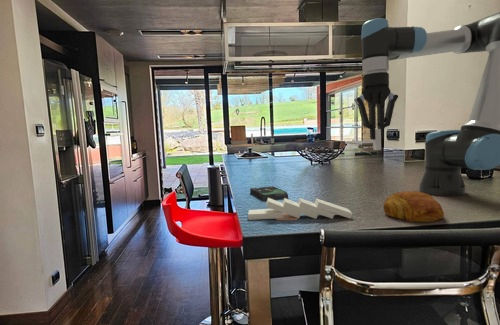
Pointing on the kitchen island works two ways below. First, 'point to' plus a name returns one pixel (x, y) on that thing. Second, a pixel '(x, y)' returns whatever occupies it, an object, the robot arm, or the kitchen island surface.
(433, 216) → the croissant
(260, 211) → the domino
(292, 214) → the domino
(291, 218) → the plate
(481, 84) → the robot arm
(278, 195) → the disk drive
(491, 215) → the kitchen island surface
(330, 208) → the domino
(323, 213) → the domino
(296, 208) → the domino
